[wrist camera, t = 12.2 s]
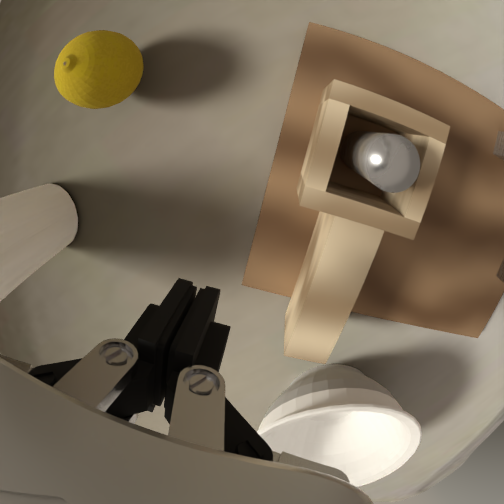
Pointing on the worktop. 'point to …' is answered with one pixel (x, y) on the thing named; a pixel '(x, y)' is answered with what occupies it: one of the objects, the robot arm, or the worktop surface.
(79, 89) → the lemon
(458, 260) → the board
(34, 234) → the cup
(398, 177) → the ball
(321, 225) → the link
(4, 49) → the worktop surface
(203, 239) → the worktop surface
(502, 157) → the bracket
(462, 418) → the worktop surface
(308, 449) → the bowl
